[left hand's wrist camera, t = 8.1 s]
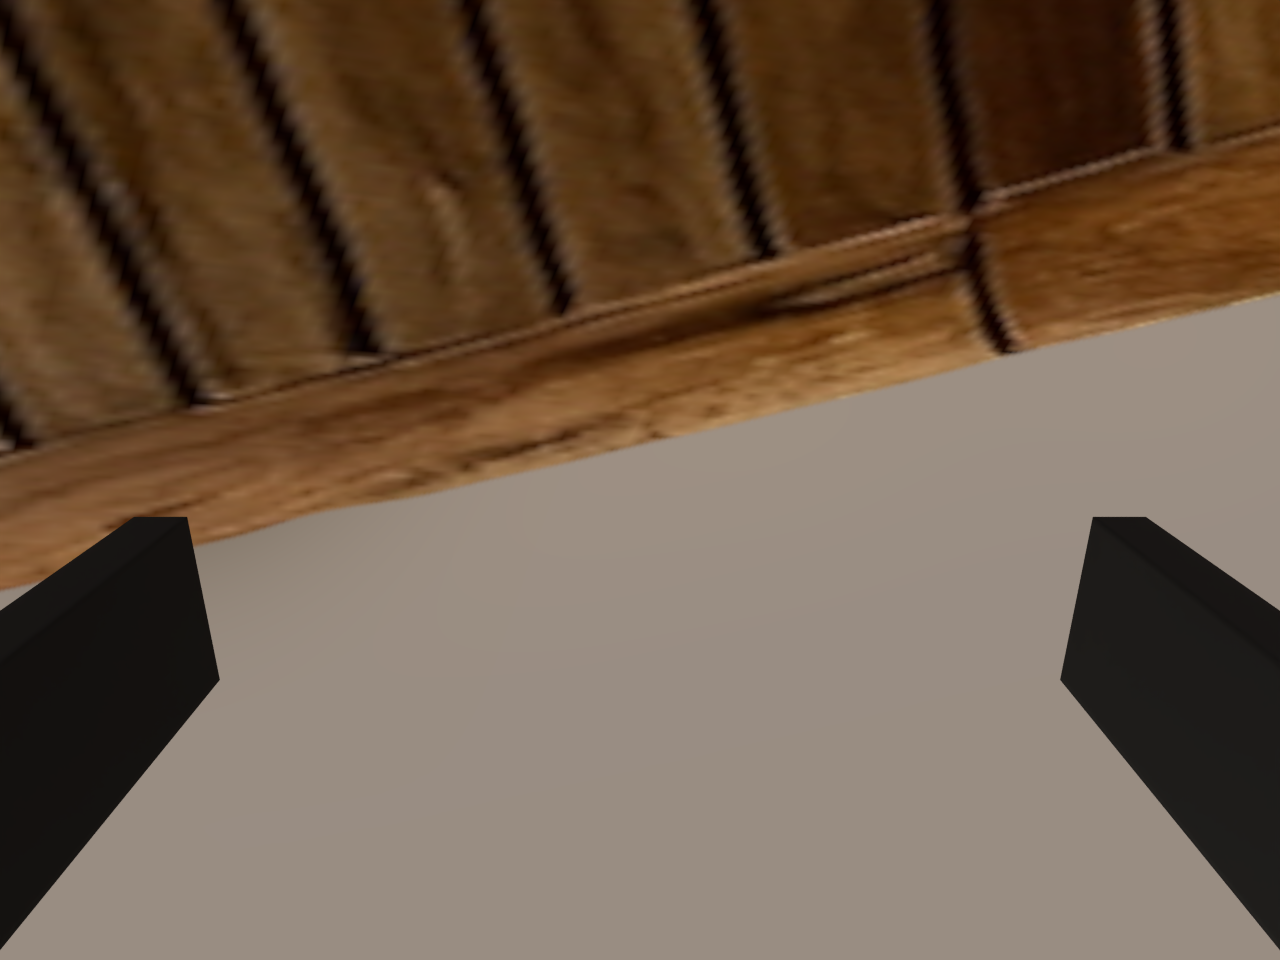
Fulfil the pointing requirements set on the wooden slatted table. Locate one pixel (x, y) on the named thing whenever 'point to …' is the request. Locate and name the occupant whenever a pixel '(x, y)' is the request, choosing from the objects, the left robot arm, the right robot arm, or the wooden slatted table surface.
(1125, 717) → the left robot arm
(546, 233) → the wooden slatted table surface
